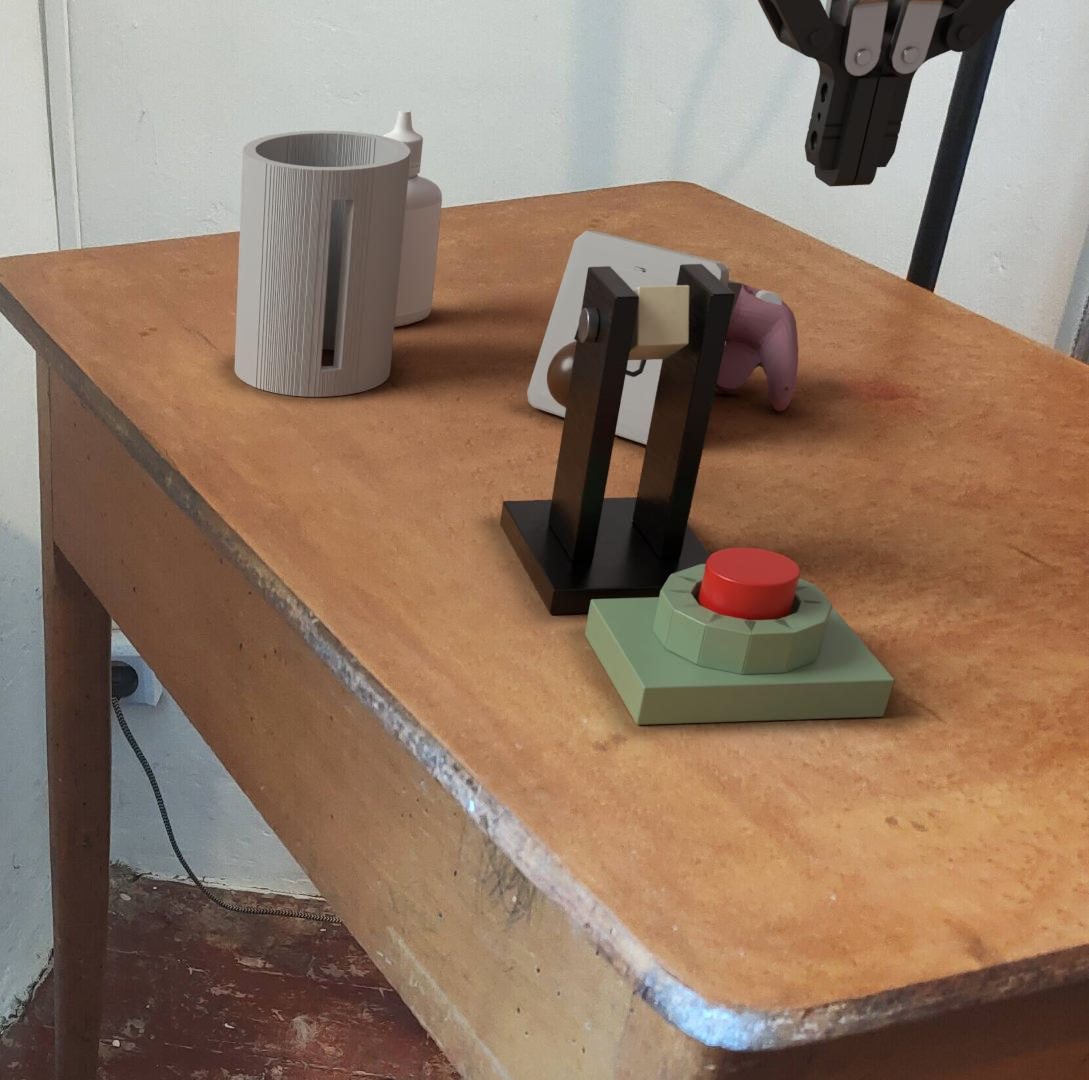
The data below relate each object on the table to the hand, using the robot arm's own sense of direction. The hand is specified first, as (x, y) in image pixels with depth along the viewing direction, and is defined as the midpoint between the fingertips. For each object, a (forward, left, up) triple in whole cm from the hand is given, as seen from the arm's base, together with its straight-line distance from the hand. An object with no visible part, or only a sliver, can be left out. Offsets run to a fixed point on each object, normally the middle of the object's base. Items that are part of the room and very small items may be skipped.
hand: (842, 180), depth 65 cm
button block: (+2, +5, -18) cm, 19 cm away
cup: (+14, -34, -18) cm, 41 cm away
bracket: (+4, -6, -18) cm, 20 cm away
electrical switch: (-2, -25, -18) cm, 31 cm away
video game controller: (-7, -29, -18) cm, 35 cm away
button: (+2, +5, -15) cm, 16 cm away
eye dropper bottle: (+8, -43, -18) cm, 48 cm away
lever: (+4, -10, -11) cm, 15 cm away
